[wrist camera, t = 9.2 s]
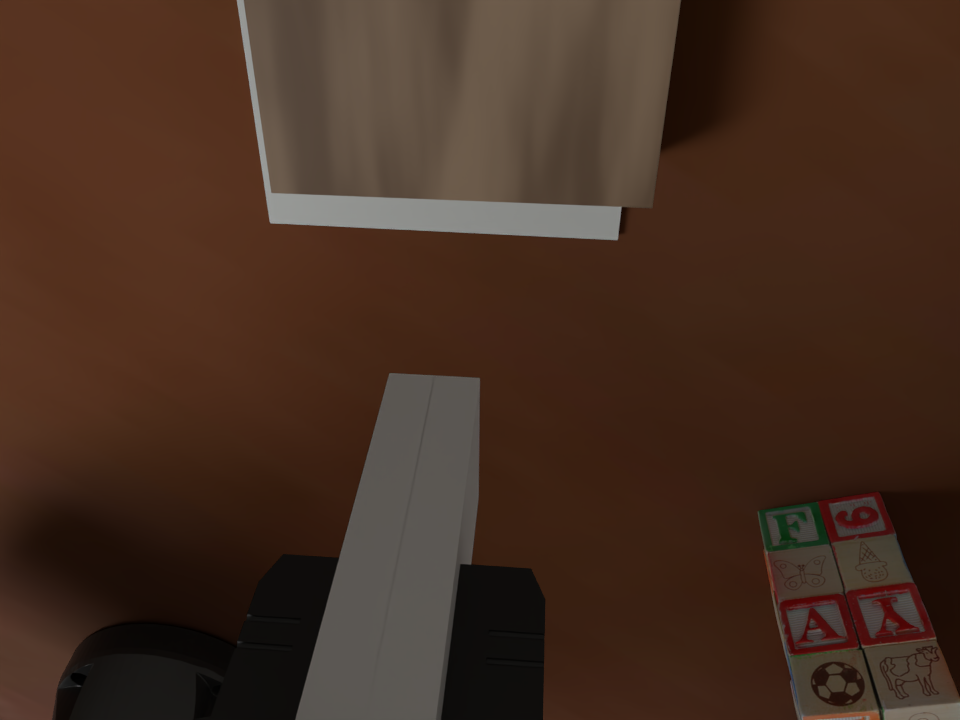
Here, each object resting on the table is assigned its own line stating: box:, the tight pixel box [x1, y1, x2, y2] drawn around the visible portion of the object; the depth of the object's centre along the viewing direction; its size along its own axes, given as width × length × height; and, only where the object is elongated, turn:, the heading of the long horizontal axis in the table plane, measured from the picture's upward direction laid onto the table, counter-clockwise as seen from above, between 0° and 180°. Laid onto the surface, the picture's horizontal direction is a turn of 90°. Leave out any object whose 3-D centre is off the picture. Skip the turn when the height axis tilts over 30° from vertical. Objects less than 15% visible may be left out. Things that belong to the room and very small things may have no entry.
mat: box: [237, 0, 621, 240], centre depth 33 cm, size 15×16×1 cm
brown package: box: [244, 0, 681, 208], centre depth 31 cm, size 4×9×14 cm
